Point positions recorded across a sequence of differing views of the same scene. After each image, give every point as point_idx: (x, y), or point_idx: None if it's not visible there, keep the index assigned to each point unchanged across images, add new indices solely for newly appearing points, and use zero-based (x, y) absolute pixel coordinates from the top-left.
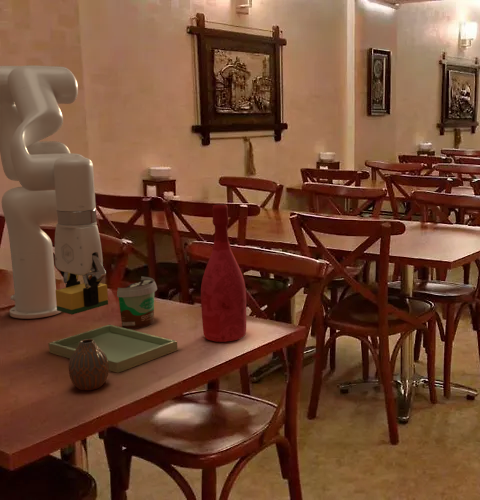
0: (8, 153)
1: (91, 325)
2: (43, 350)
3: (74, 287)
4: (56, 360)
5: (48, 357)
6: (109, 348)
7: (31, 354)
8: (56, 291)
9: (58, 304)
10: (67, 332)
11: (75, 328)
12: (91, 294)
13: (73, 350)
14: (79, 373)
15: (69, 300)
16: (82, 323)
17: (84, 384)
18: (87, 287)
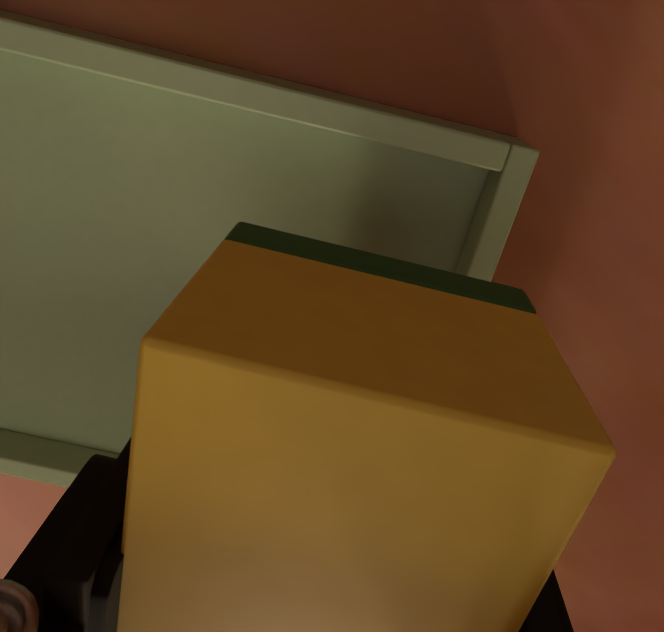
0: None
1: (569, 581)
2: (592, 164)
3: None
4: (365, 21)
5: (464, 54)
6: (165, 292)
7: (629, 63)
8: (579, 431)
9: (500, 314)
10: (638, 470)
11: (631, 529)
12: (42, 532)
13: (238, 77)
14: None
15: (225, 294)
16: (639, 593)
17: None
18: (2, 609)
